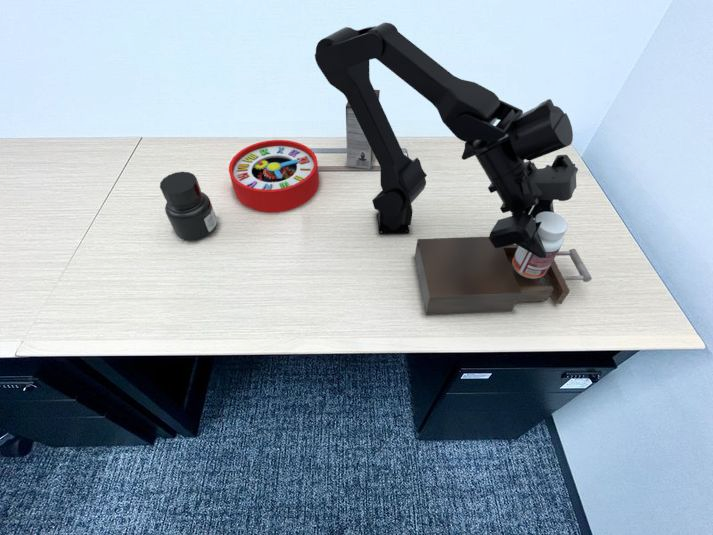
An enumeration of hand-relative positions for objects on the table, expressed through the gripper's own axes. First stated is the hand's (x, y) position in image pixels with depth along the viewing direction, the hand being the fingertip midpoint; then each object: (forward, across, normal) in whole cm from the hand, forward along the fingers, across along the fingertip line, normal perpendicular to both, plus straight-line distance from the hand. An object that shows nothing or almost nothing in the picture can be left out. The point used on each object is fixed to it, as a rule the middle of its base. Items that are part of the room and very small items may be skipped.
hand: (549, 245), depth 67 cm
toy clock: (-34, -3, +50) cm, 61 cm away
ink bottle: (-37, -24, +54) cm, 69 cm away
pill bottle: (+4, 0, +6) cm, 7 cm away
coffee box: (-26, +18, +42) cm, 53 cm away
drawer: (+6, 0, +8) cm, 10 cm away
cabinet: (0, -7, +15) cm, 17 cm away
